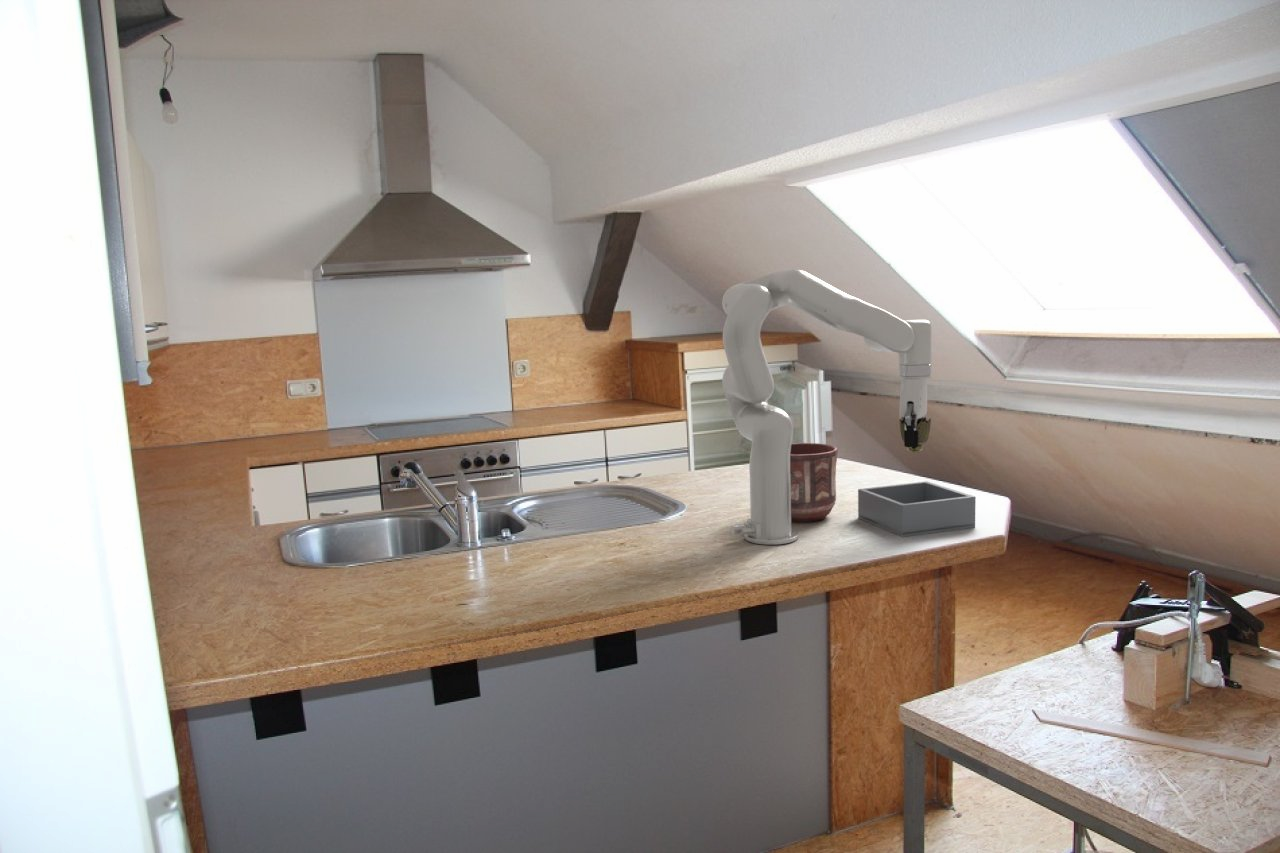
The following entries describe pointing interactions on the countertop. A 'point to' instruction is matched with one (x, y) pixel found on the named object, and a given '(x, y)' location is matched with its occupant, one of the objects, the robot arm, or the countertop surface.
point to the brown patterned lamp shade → (922, 429)
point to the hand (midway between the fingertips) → (914, 443)
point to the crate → (916, 508)
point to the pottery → (812, 481)
